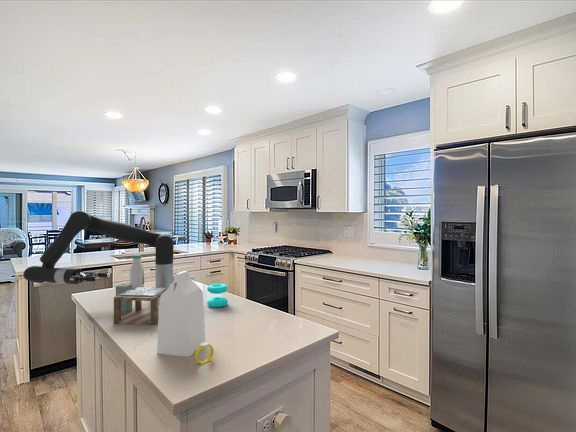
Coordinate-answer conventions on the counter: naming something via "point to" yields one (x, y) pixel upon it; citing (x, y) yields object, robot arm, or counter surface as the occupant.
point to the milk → (181, 317)
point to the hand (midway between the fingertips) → (100, 277)
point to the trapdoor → (143, 292)
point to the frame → (137, 311)
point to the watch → (202, 345)
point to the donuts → (217, 300)
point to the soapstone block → (125, 304)
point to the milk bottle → (137, 272)
